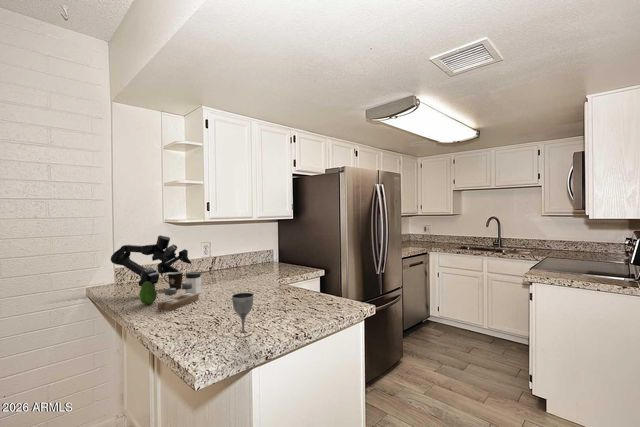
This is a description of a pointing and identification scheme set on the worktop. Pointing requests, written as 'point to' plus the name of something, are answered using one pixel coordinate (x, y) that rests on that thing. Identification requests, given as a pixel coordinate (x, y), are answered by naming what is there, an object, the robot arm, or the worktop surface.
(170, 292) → the knob
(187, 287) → the knob
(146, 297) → the avocado
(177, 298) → the knob panel
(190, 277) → the jar
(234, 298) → the wine glass
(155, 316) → the worktop surface
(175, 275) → the coffee mug
